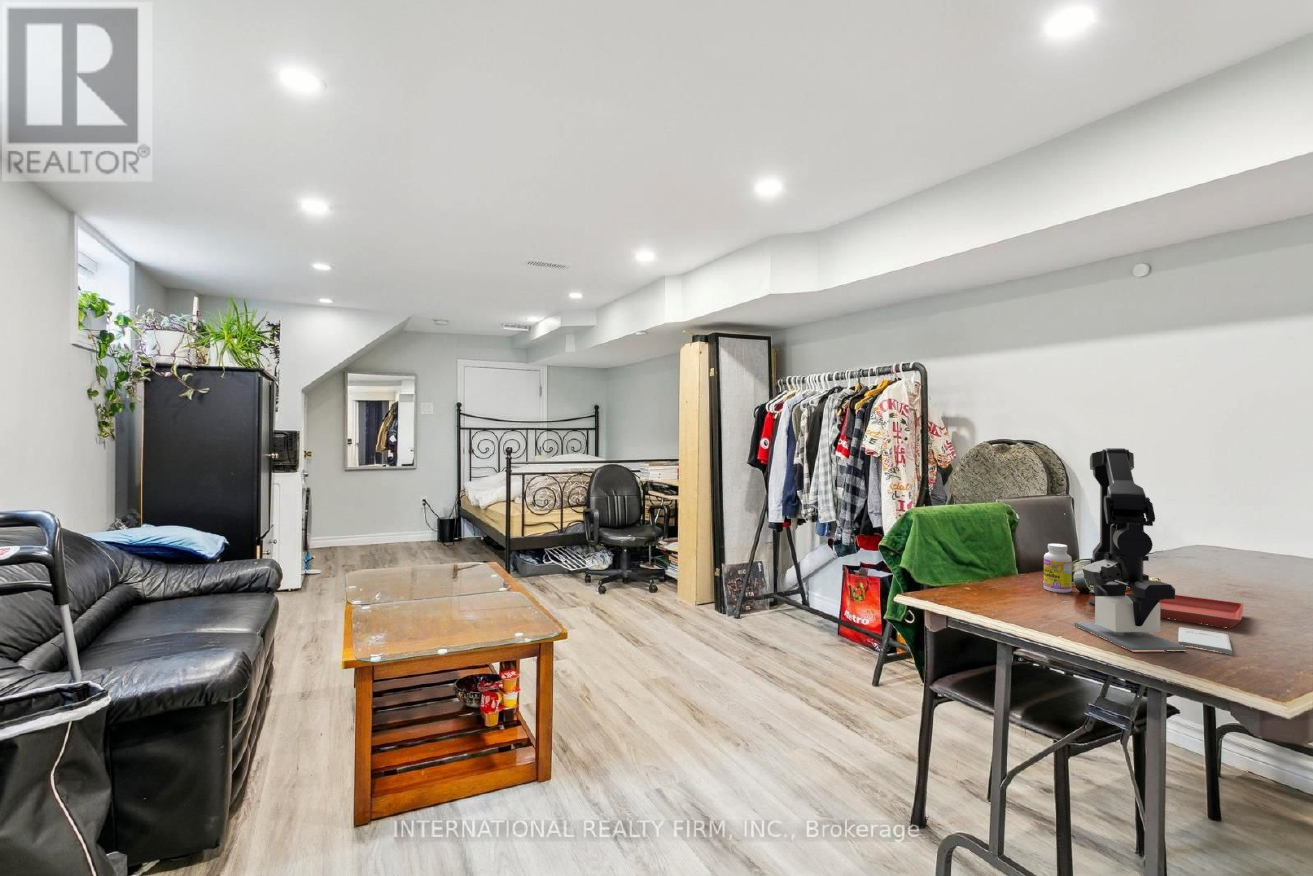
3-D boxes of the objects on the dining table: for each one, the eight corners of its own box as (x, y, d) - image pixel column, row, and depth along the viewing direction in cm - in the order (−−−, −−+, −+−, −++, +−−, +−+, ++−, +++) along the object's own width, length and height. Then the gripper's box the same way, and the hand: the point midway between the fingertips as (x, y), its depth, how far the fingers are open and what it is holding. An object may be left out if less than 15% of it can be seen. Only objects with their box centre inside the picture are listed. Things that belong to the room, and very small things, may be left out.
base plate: (1074, 626, 141) (1074, 611, 141) (1122, 626, 141) (1122, 610, 141) (1132, 652, 124) (1132, 635, 124) (1186, 652, 124) (1186, 634, 124)
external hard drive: (1178, 648, 128) (1178, 633, 137) (1232, 657, 123) (1228, 641, 132) (1178, 640, 128) (1178, 626, 137) (1232, 649, 123) (1228, 633, 132)
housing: (1115, 632, 130) (1115, 603, 130) (1095, 623, 136) (1095, 596, 136) (1160, 631, 130) (1160, 603, 130) (1137, 623, 136) (1137, 595, 136)
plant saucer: (1138, 617, 149) (1138, 604, 149) (1148, 603, 162) (1148, 590, 162) (1241, 634, 136) (1241, 619, 136) (1243, 617, 149) (1243, 603, 149)
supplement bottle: (1038, 588, 176) (1037, 543, 176) (1055, 586, 178) (1055, 542, 178) (1059, 594, 170) (1059, 547, 170) (1077, 592, 172) (1077, 546, 172)
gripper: (1060, 542, 142) (1061, 609, 142) (1122, 558, 123) (1122, 636, 124) (1108, 541, 142) (1109, 609, 142) (1177, 557, 124) (1177, 635, 124)
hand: (1126, 621), depth 133 cm, fingers open, 6 cm apart
